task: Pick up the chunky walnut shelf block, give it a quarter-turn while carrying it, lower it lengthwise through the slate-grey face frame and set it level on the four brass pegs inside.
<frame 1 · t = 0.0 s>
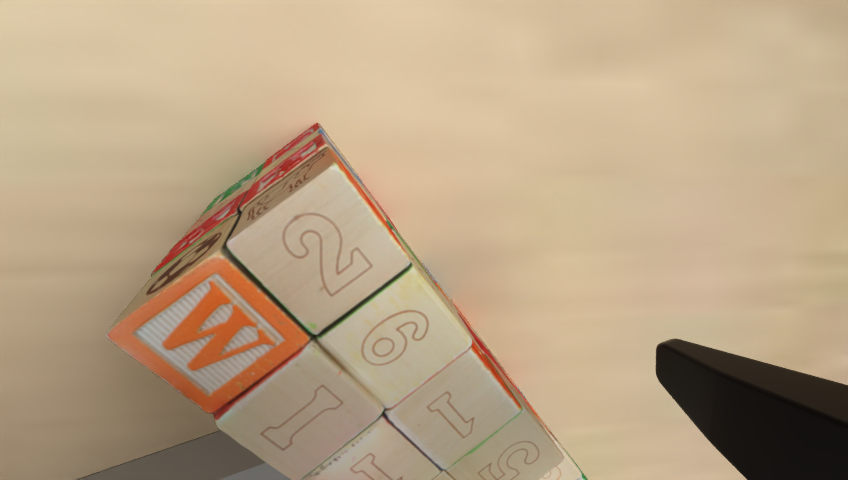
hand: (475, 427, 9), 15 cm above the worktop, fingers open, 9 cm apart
stack of blocks: (391, 308, 25), on the worktop
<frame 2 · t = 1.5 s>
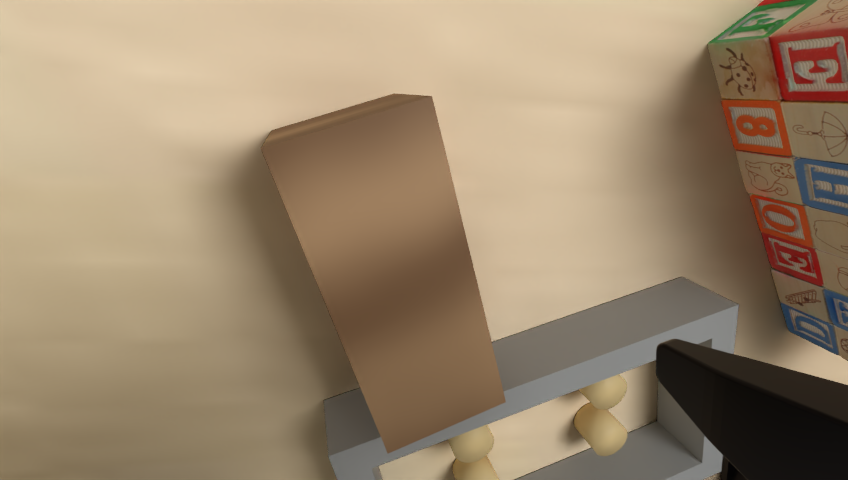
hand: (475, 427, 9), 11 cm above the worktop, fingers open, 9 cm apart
stack of blocks: (788, 180, 25), on the worktop
board: (378, 244, 19), on the worktop
frame: (528, 417, 25), on the worktop
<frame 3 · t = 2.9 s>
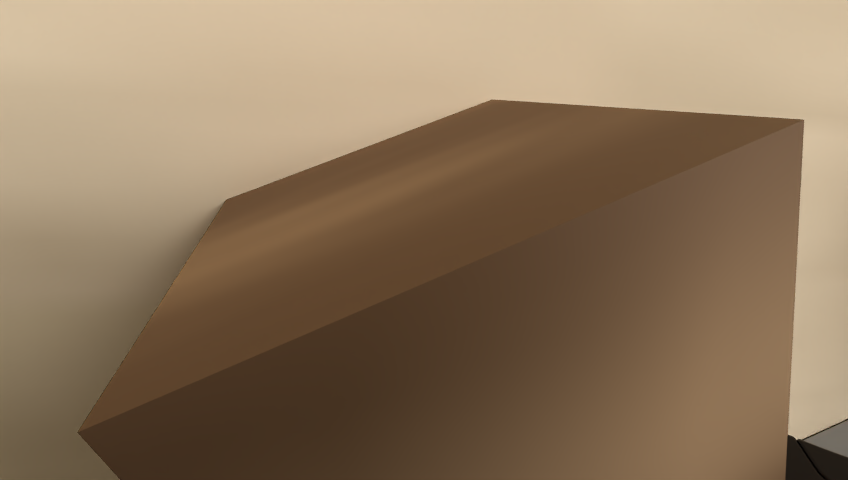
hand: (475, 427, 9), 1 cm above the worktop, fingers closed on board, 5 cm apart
board: (455, 389, 10), on the worktop, touching gripper
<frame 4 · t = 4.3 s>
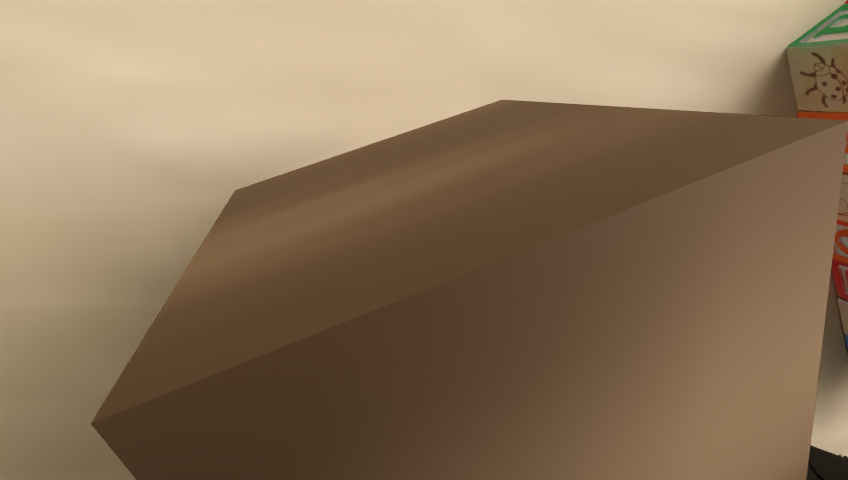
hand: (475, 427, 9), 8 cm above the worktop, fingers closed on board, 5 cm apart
board: (457, 393, 10), point 7 cm above the worktop, touching gripper
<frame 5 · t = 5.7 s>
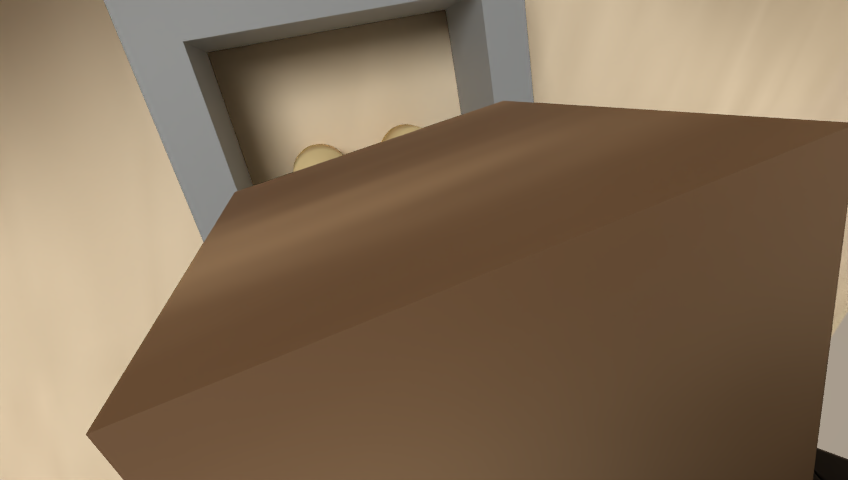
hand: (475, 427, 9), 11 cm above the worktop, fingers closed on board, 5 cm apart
board: (458, 395, 10), point 10 cm above the worktop, touching gripper
frame: (385, 248, 19), on the worktop
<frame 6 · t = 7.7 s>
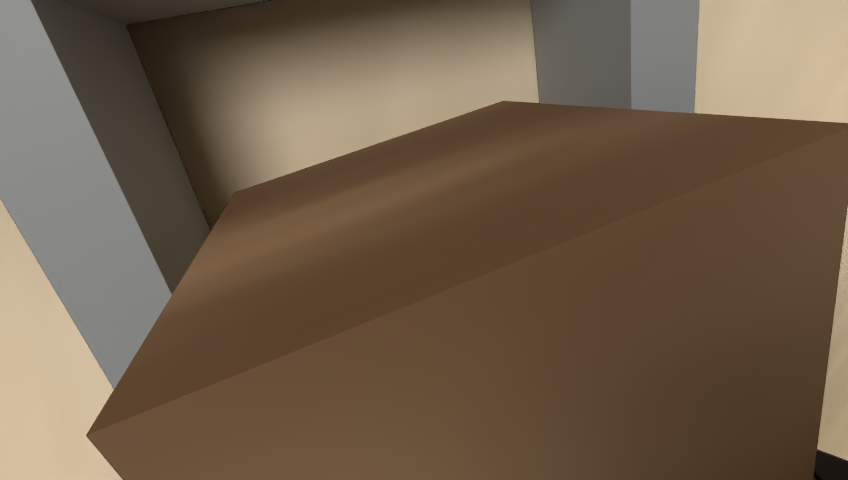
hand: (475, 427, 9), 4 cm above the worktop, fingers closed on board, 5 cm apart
board: (458, 395, 10), point 3 cm above the worktop, touching gripper
frame: (421, 326, 13), on the worktop
when the fingers open (4 cm above the worktop, at t = 7.7 s): board drops 1 cm, resting on frame.
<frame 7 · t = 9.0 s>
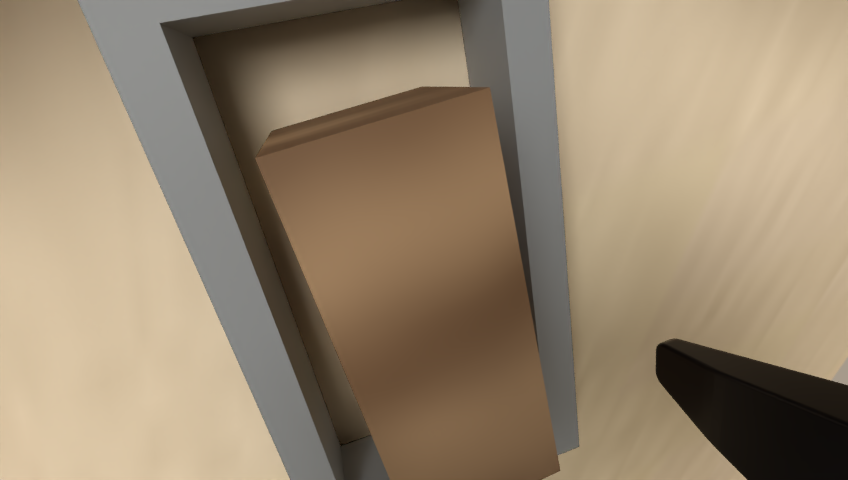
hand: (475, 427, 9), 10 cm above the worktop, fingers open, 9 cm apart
board: (400, 269, 16), point 2 cm above the worktop, touching frame
frame: (389, 251, 18), on the worktop
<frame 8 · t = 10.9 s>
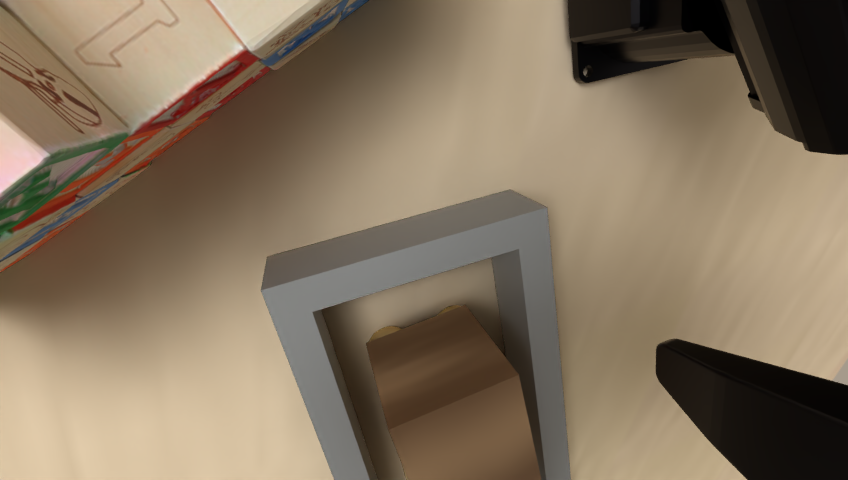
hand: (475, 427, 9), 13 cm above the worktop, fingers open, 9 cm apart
stack of blocks: (119, 70, 16), on the worktop
board: (445, 416, 22), point 2 cm above the worktop, touching frame
frame: (435, 392, 24), on the worktop
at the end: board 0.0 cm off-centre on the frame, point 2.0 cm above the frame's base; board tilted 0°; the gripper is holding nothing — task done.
